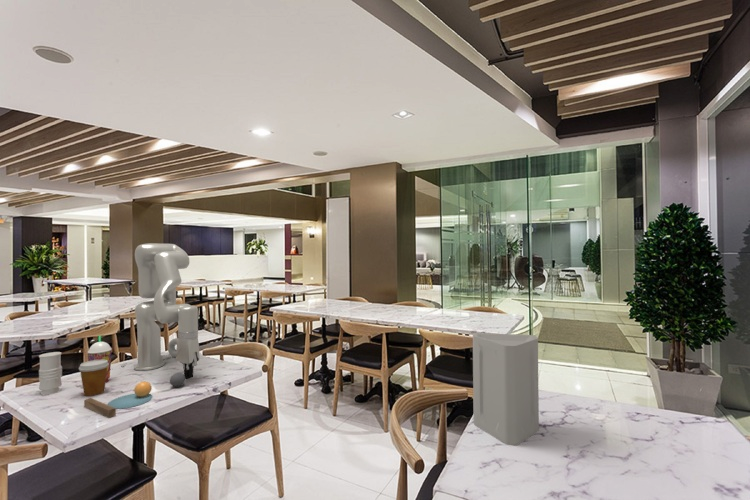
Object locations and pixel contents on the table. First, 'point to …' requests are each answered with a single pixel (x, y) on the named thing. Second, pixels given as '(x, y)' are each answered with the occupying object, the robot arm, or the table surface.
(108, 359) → the smoothie
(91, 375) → the disposable coffee cup
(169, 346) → the donut
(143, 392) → the object ball
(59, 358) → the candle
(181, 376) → the grey ball
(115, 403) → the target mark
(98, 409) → the wall
